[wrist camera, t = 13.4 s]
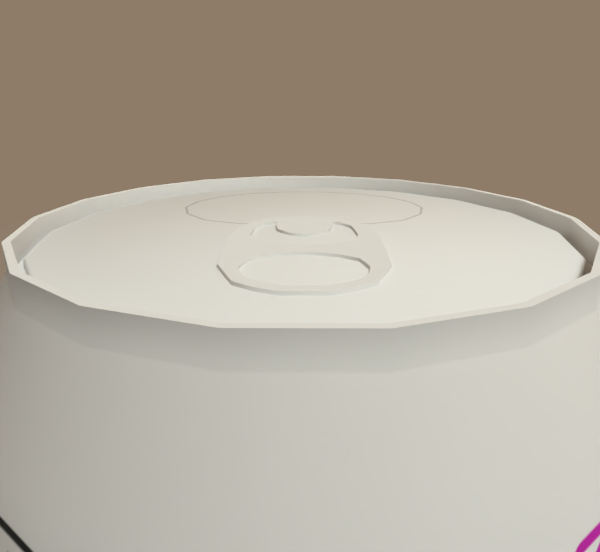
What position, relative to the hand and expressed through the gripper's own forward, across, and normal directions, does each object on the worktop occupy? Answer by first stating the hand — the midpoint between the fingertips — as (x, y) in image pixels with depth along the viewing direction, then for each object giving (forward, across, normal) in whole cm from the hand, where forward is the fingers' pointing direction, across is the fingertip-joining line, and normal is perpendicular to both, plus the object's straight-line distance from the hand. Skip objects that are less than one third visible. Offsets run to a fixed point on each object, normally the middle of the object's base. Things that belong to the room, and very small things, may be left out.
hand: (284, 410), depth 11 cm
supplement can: (-3, 0, -11) cm, 11 cm away
